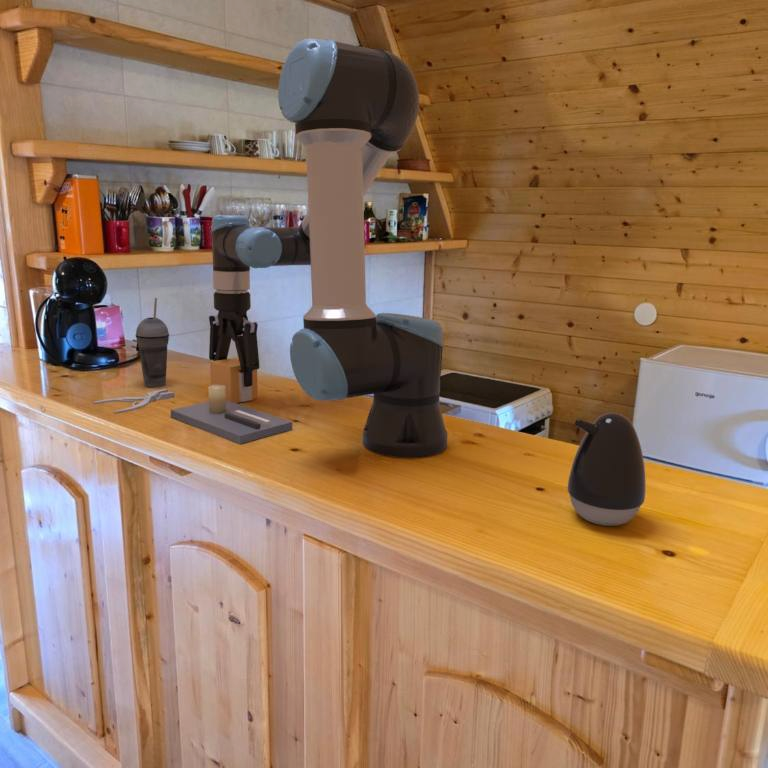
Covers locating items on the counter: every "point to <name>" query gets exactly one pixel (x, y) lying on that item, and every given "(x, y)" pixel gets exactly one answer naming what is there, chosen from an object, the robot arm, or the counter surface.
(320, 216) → the robot arm
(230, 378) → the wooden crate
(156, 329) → the beverage cup
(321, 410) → the counter surface
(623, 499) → the pump dispenser
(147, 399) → the pliers
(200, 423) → the plate
